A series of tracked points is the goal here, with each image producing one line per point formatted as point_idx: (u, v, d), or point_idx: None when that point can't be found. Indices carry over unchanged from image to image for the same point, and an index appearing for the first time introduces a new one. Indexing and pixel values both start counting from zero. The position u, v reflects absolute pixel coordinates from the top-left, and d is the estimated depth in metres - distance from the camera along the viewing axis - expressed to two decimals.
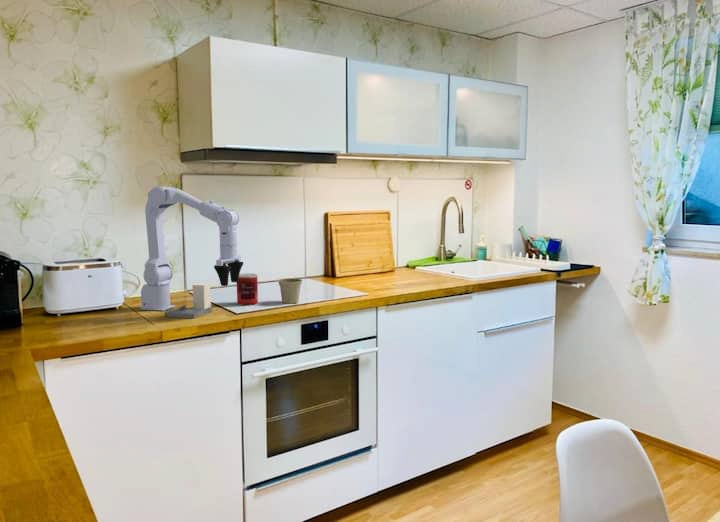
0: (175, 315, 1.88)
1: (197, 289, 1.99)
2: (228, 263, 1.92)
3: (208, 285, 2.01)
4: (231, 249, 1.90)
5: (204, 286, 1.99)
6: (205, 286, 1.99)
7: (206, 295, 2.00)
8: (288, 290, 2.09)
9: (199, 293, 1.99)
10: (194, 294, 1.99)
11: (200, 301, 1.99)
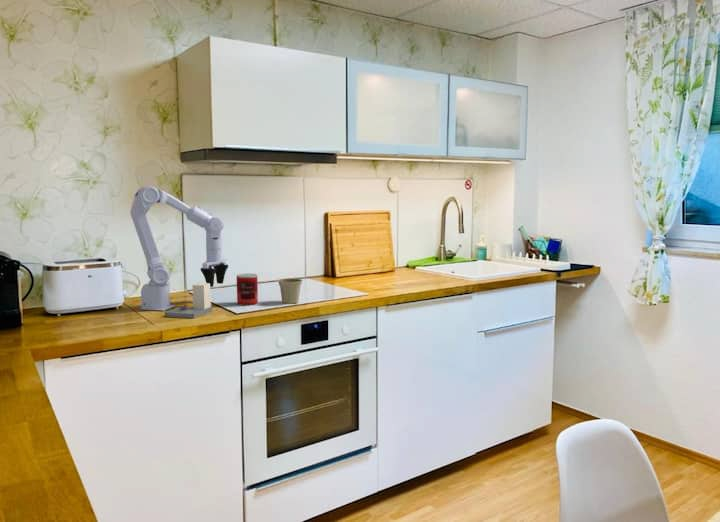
0: (175, 315, 1.88)
1: (197, 289, 1.99)
2: (214, 266, 2.09)
3: (208, 285, 2.01)
4: (217, 253, 2.07)
5: (204, 286, 1.99)
6: (205, 286, 1.99)
7: (206, 295, 2.00)
8: (288, 290, 2.09)
9: (199, 293, 1.99)
10: (194, 294, 1.99)
11: (200, 301, 1.99)
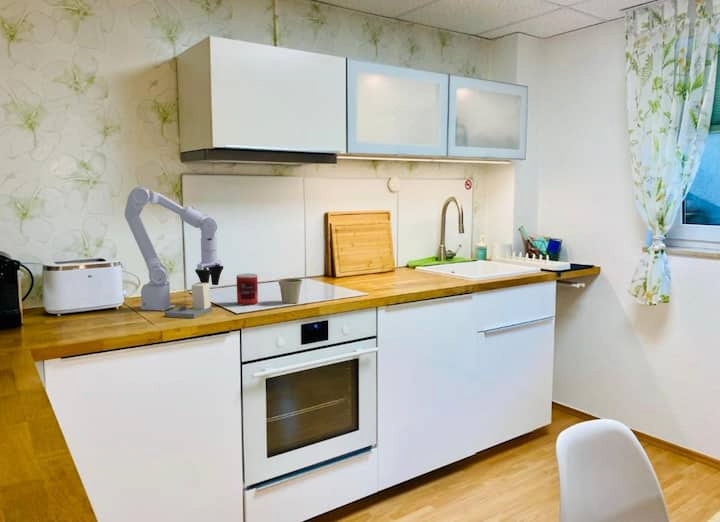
0: (175, 315, 1.88)
1: (196, 289, 1.98)
2: (209, 267, 2.05)
3: (207, 285, 2.01)
4: (212, 254, 2.03)
5: (203, 286, 1.98)
6: (204, 286, 1.99)
7: (206, 295, 2.00)
8: (288, 290, 2.09)
9: (198, 293, 1.99)
10: (193, 294, 1.99)
11: (199, 302, 1.99)
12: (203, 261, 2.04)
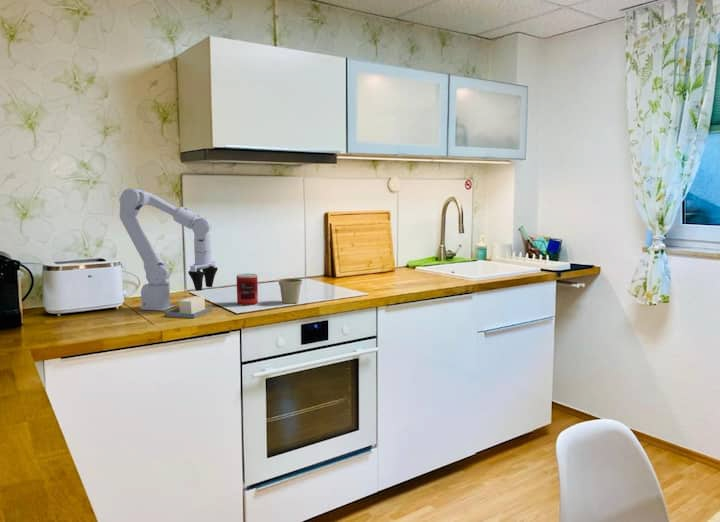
0: (175, 315, 1.88)
1: None
2: (202, 269, 2.01)
3: (192, 304, 1.91)
4: (205, 256, 1.99)
5: (192, 312, 1.91)
6: (192, 310, 1.91)
7: (197, 306, 1.94)
8: (288, 290, 2.09)
9: None
10: None
11: None
12: (196, 263, 1.99)
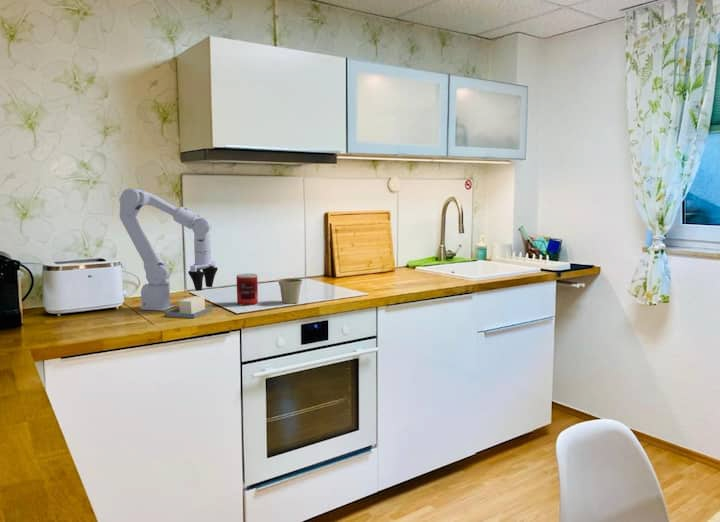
0: (175, 315, 1.88)
1: None
2: (202, 269, 2.01)
3: (192, 304, 1.91)
4: (205, 256, 1.99)
5: (192, 312, 1.91)
6: (192, 310, 1.91)
7: (197, 306, 1.94)
8: (288, 290, 2.09)
9: None
10: None
11: None
12: (196, 263, 1.99)
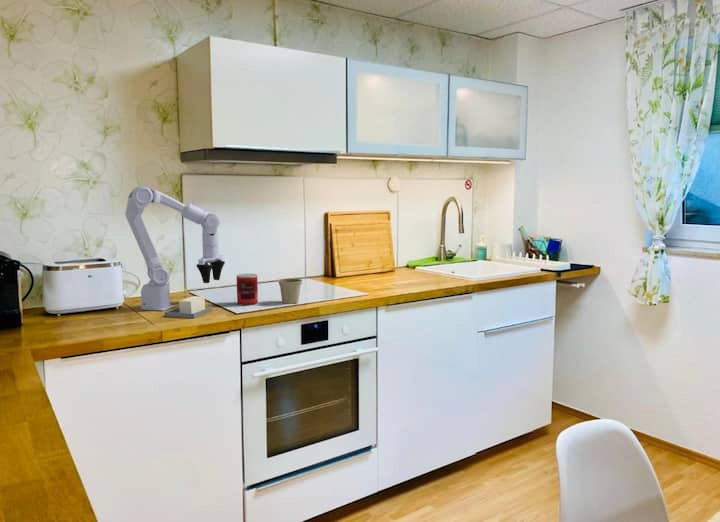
0: (175, 315, 1.88)
1: None
2: (210, 262, 2.08)
3: (192, 304, 1.91)
4: (213, 249, 2.06)
5: (192, 312, 1.91)
6: (192, 310, 1.91)
7: (197, 306, 1.94)
8: (288, 290, 2.09)
9: None
10: None
11: None
12: (204, 256, 2.06)
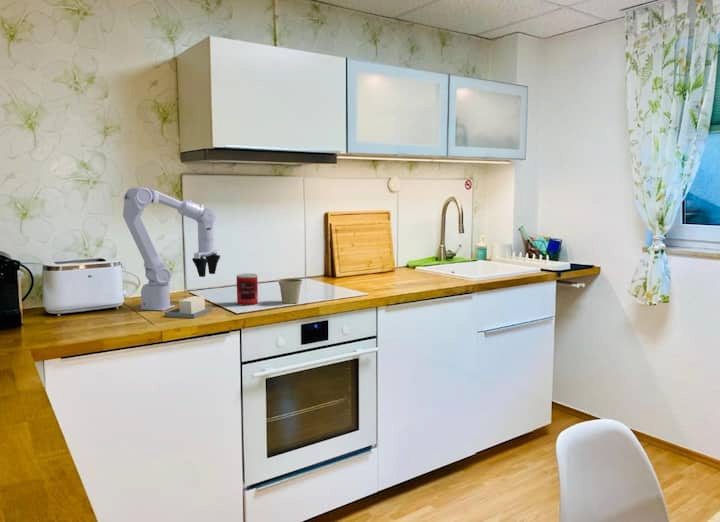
0: (175, 315, 1.88)
1: None
2: (206, 256, 2.11)
3: (192, 304, 1.91)
4: (208, 244, 2.09)
5: (192, 312, 1.91)
6: (192, 310, 1.91)
7: (197, 306, 1.94)
8: (288, 290, 2.09)
9: None
10: None
11: None
12: (200, 250, 2.09)
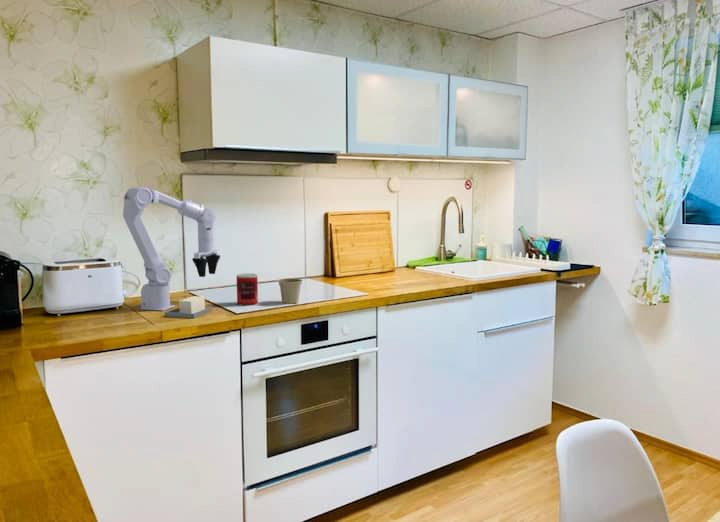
0: (175, 315, 1.88)
1: None
2: (206, 256, 2.11)
3: (192, 304, 1.91)
4: (208, 244, 2.09)
5: (192, 312, 1.91)
6: (192, 310, 1.91)
7: (197, 306, 1.94)
8: (288, 290, 2.09)
9: None
10: None
11: None
12: (200, 250, 2.09)
